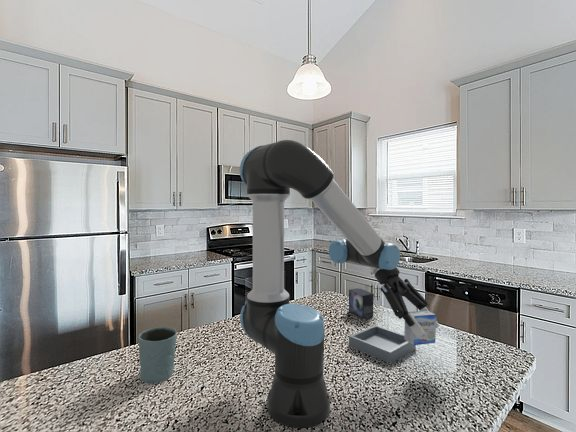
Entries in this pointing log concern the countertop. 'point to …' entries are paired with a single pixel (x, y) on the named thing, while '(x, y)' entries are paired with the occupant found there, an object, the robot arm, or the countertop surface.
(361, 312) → the small box
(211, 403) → the countertop surface
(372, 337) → the grey tray
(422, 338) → the medicine box
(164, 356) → the teal cup
